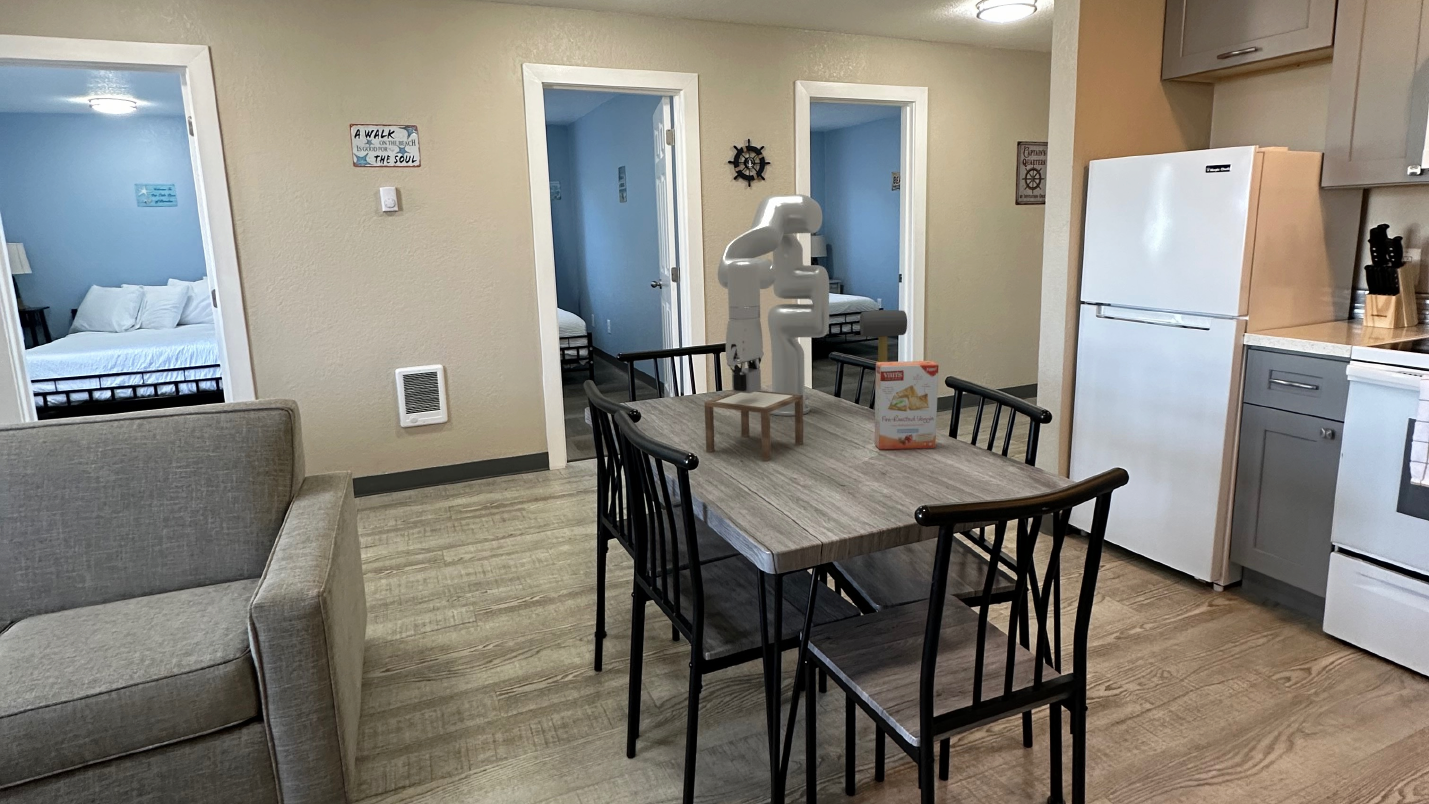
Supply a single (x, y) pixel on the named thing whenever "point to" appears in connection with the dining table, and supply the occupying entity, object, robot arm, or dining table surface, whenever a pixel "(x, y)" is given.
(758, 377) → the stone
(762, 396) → the trapdoor
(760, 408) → the frame
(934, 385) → the cracker box
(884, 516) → the dining table surface
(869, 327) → the rubber mallet
